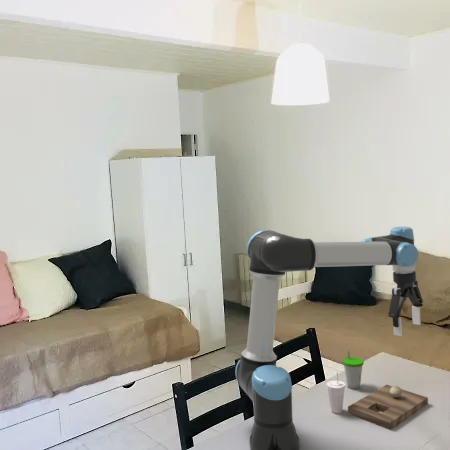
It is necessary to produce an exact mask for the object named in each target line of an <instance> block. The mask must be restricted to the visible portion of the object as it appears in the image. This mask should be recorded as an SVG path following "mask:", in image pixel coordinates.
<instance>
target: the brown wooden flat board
mask: <svg viewBox="0 0 450 450" xmlns="http://www.w3.org/2000/svg"><path fill="white" fill-rule="evenodd" d="M393 386H394V385H389V384H385V385H384V386H382V387H380V388H377V390H375V391H373V392H371V393H369V394H368V395H366V396H364V397H362V398H361V399H359V400H357V401H356V402H353V403H351V404H350V405H348V406H347V414H348V415H351V416H353V417H355V418H358V419H361V420H363V421H366V422H369V423H371V424H374V425H377V426H379V427H381V428H385V429H386V430H390V431H391V430H393V429H394V428H395V427H396V426H397V427H398V426H399V425H400V424H401V423H403V422H404V421H406V420H407V419H409V418H410V417H412V416H413V415H414V414H416V413H418V412H419V411H420V410H422V409H423V408H426V406H428V405H429V397H427V396H425V395H421V394H418V393H415V392H412V391H408V390H405V389H402V388H401V390H402V395H401V396H400V397H398V398H395V397H393V396H392V395H391V394H390V389H391V387H393Z"/></svg>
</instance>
